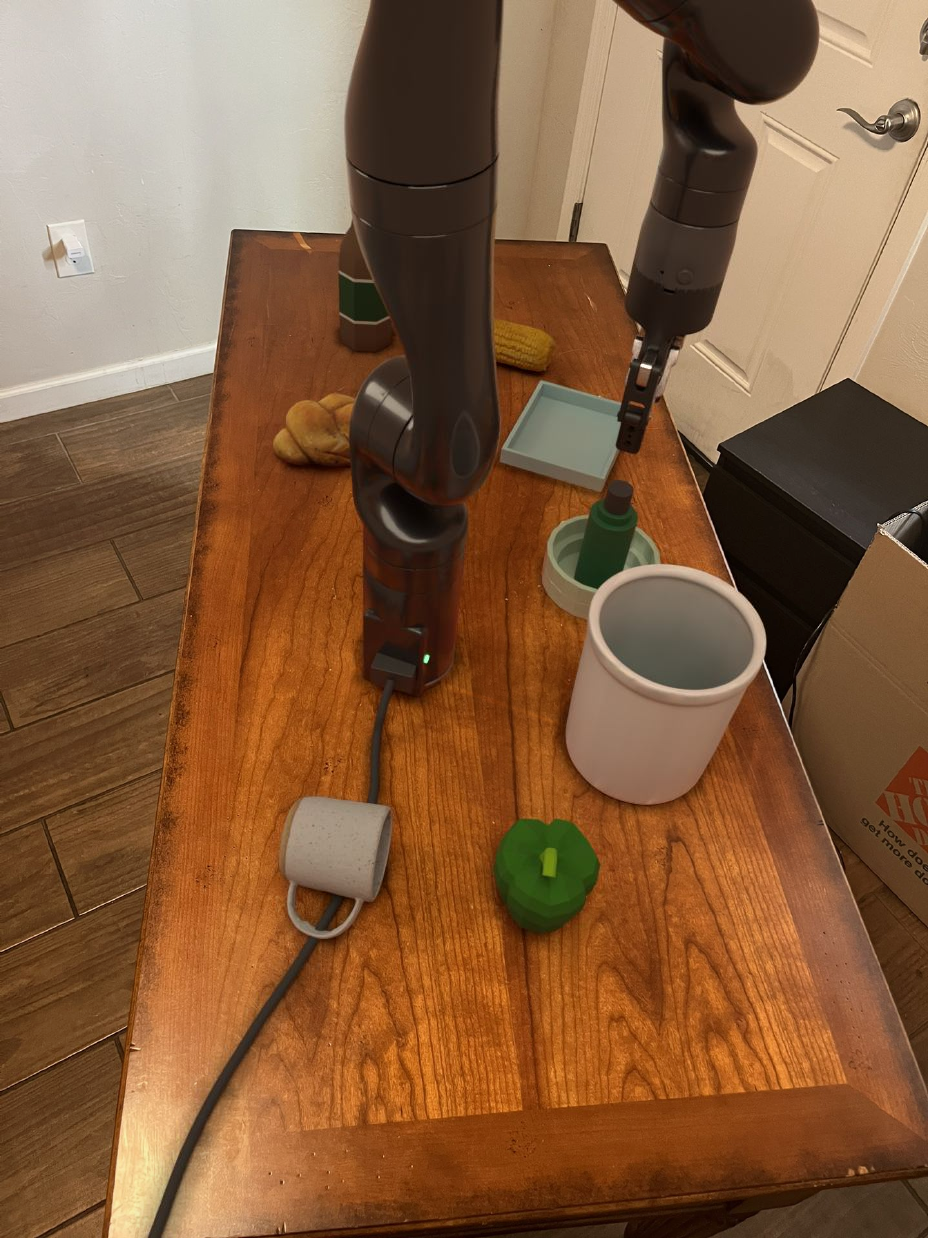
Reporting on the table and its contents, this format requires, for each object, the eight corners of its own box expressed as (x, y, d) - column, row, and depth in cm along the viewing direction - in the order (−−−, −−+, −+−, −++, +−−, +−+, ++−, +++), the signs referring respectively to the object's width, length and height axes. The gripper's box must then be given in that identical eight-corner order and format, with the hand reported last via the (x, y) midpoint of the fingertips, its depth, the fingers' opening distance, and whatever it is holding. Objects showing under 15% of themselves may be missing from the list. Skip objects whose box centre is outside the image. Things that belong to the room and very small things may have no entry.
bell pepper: (516, 837, 83) (531, 777, 76) (599, 885, 81) (623, 827, 73) (467, 913, 78) (478, 857, 71) (555, 967, 76) (575, 914, 68)
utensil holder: (533, 702, 93) (560, 580, 80) (663, 667, 98) (710, 546, 84) (597, 829, 85) (640, 716, 71) (738, 785, 89) (803, 670, 76)
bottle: (612, 603, 102) (639, 510, 92) (568, 589, 103) (590, 495, 93) (623, 573, 106) (650, 480, 95) (580, 559, 106) (603, 466, 96)
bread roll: (277, 480, 112) (272, 426, 106) (269, 430, 118) (264, 376, 112) (384, 471, 115) (385, 417, 109) (370, 422, 121) (371, 368, 115)
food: (554, 363, 133) (561, 326, 129) (542, 384, 130) (548, 346, 125) (418, 323, 137) (420, 285, 133) (402, 342, 134) (404, 304, 129)
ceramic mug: (302, 818, 83) (296, 773, 77) (393, 835, 82) (395, 790, 77) (267, 934, 76) (258, 894, 70) (366, 953, 76) (366, 914, 70)
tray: (600, 495, 115) (604, 479, 113) (499, 465, 117) (501, 448, 115) (631, 422, 125) (635, 406, 123) (538, 395, 128) (540, 379, 126)
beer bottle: (330, 328, 134) (325, 156, 117) (381, 319, 137) (384, 149, 119) (349, 358, 130) (347, 183, 112) (401, 348, 133) (407, 176, 115)
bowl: (635, 640, 100) (645, 608, 96) (526, 604, 102) (532, 572, 98) (660, 565, 108) (670, 534, 104) (558, 534, 110) (565, 502, 106)
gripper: (655, 214, 81) (618, 373, 94) (614, 290, 72) (579, 456, 85) (740, 234, 80) (691, 394, 92) (710, 315, 71) (660, 480, 83)
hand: (637, 423), depth 88 cm, fingers open, 8 cm apart
